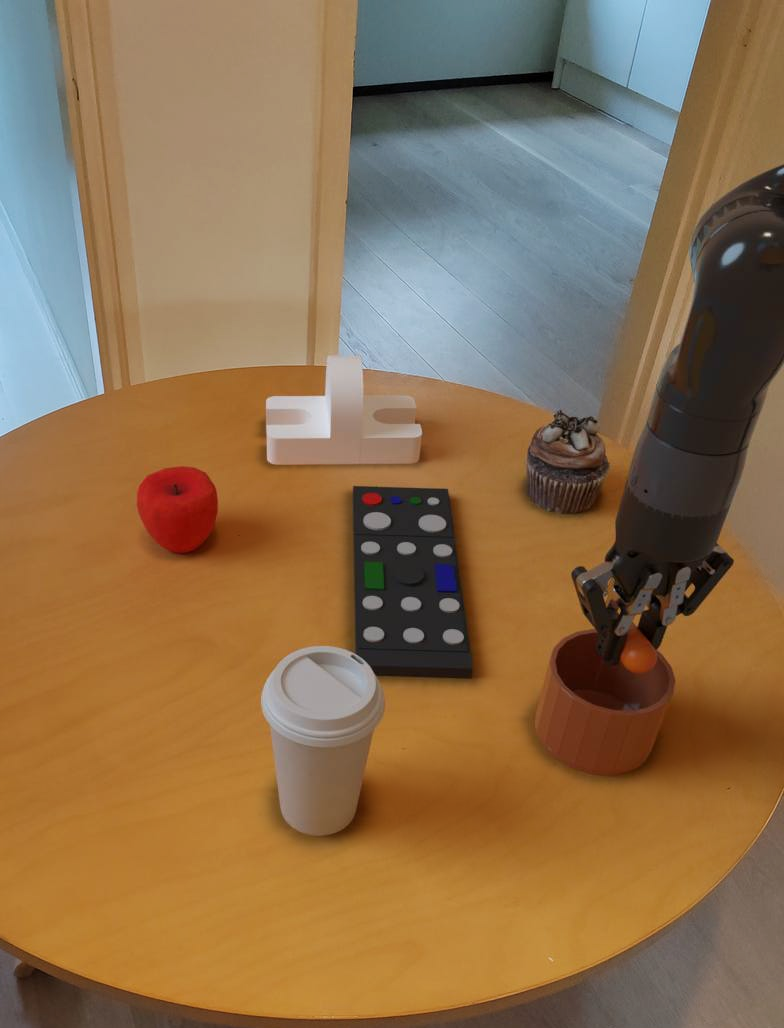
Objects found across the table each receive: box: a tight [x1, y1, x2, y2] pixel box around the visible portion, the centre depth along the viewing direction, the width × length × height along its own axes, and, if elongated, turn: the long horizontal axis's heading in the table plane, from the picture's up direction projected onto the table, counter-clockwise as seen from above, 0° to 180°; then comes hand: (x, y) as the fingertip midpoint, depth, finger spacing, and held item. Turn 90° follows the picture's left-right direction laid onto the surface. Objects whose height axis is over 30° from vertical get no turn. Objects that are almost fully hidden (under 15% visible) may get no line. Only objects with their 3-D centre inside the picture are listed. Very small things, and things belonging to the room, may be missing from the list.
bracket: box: [265, 354, 423, 466], centre depth 126 cm, size 19×10×11 cm, turn 93°
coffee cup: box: [260, 645, 386, 837], centre depth 82 cm, size 10×10×15 cm
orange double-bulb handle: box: [620, 621, 657, 674], centre depth 86 cm, size 8×3×3 cm
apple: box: [136, 465, 219, 554], centre depth 111 cm, size 9×9×8 cm
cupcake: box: [525, 409, 611, 515], centre depth 119 cm, size 10×10×10 cm
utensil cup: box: [534, 628, 676, 777], centre depth 91 cm, size 11×11×8 cm
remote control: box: [352, 485, 474, 680], centre depth 109 cm, size 11×30×2 cm, turn 179°
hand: (625, 654), depth 86 cm, fingers closed on orange double-bulb handle, 2 cm apart
